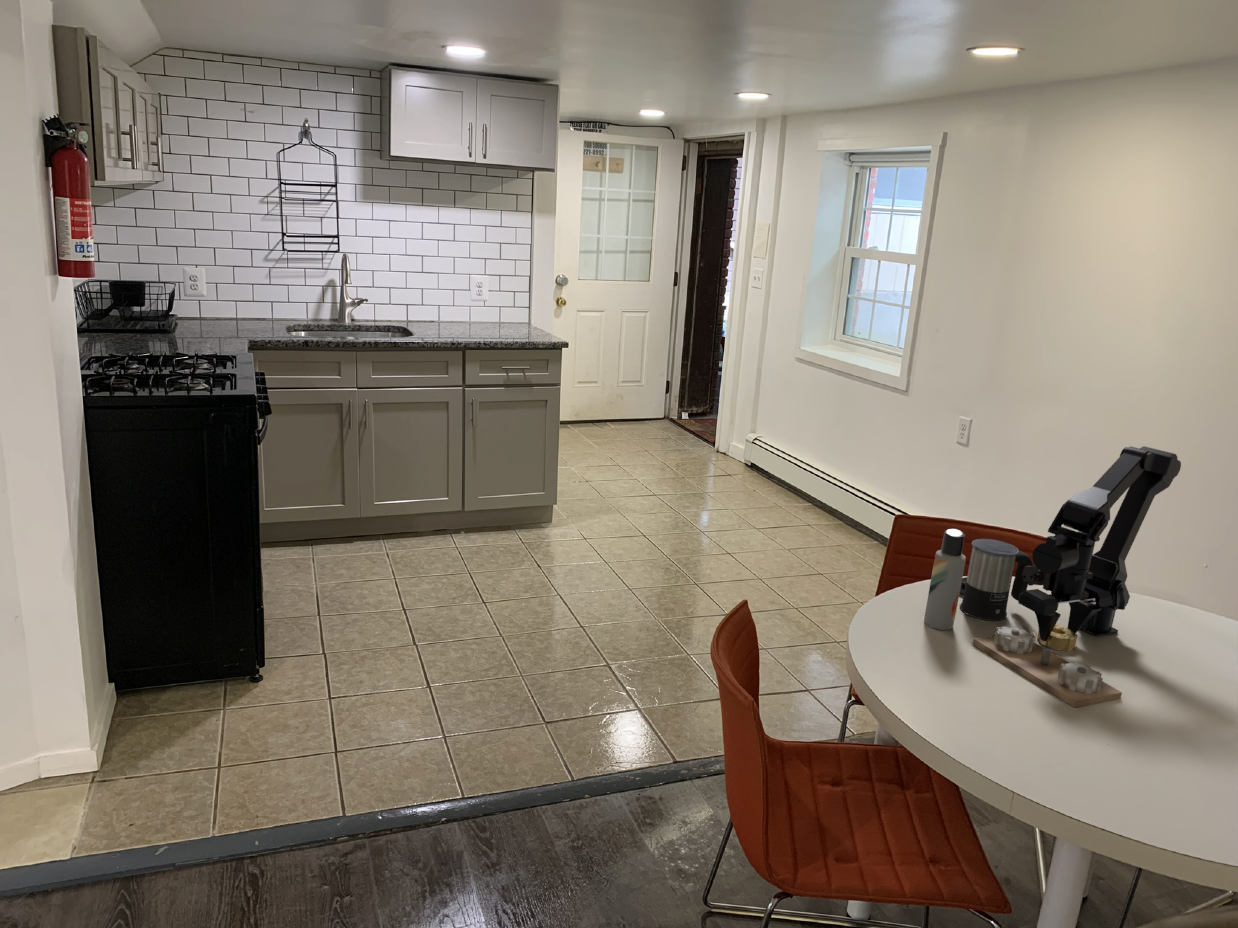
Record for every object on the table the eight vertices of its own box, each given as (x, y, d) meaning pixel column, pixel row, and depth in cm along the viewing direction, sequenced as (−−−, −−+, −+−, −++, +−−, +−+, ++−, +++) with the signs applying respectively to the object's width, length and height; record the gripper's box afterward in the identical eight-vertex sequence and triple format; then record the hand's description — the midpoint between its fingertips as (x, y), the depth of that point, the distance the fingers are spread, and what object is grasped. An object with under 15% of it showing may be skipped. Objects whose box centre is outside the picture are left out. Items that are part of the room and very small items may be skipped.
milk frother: (986, 624, 187) (1000, 556, 183) (925, 595, 200) (936, 530, 196) (1029, 613, 195) (1043, 547, 191) (967, 585, 207) (979, 523, 203)
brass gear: (1054, 633, 186) (1056, 621, 185) (1082, 648, 180) (1085, 636, 179) (1029, 637, 183) (1031, 625, 182) (1056, 652, 177) (1059, 640, 176)
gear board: (972, 644, 178) (976, 624, 177) (1015, 637, 182) (1019, 618, 181) (1074, 707, 157) (1080, 685, 156) (1120, 698, 161) (1125, 676, 160)
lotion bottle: (954, 622, 187) (971, 530, 182) (951, 633, 182) (969, 538, 177) (925, 615, 189) (941, 524, 184) (921, 626, 184) (938, 532, 179)
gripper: (1073, 545, 187) (1058, 615, 192) (1004, 552, 180) (990, 625, 184) (1121, 565, 178) (1103, 639, 182) (1050, 574, 170) (1033, 650, 175)
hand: (1056, 637), depth 181 cm, fingers closed on brass gear, 7 cm apart
